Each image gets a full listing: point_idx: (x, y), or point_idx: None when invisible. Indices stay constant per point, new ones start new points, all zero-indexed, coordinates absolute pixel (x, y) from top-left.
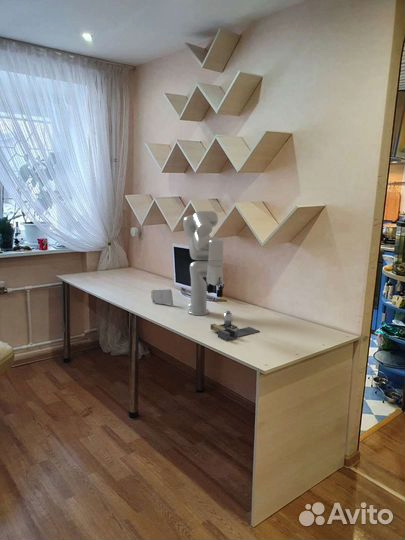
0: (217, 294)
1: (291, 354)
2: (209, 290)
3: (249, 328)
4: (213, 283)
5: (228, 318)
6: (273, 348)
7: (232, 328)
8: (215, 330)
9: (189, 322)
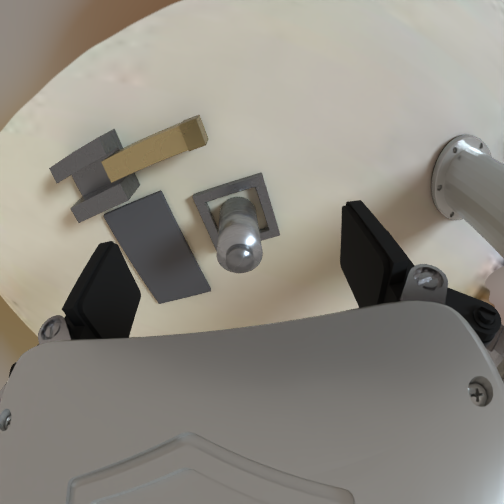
0: (89, 266)
1: (11, 294)
2: (354, 238)
3: (190, 285)
4: (47, 374)
5: (218, 237)
6: (31, 277)
7: (206, 226)
8: (159, 132)
9: (373, 67)
